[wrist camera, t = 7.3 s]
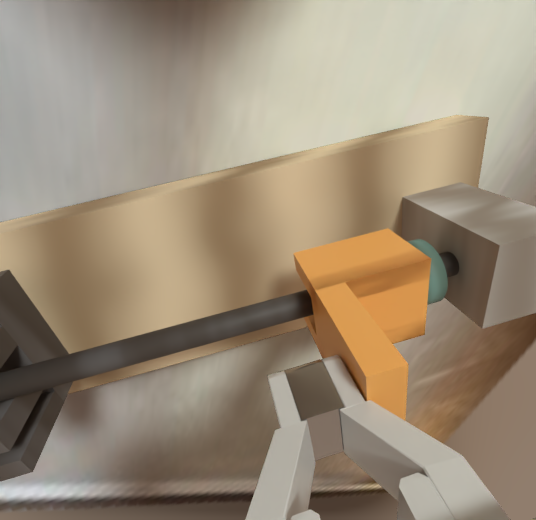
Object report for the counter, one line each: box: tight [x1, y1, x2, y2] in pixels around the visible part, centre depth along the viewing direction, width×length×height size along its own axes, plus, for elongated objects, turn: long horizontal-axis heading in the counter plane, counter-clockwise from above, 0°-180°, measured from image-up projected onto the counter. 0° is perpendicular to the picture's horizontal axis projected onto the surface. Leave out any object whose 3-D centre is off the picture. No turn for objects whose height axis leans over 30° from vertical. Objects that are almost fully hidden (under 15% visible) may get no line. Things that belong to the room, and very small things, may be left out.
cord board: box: [0, 115, 536, 481], centre depth 13 cm, size 24×9×8 cm, turn 101°
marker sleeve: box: [293, 228, 431, 421], centre depth 10 cm, size 4×3×6 cm
